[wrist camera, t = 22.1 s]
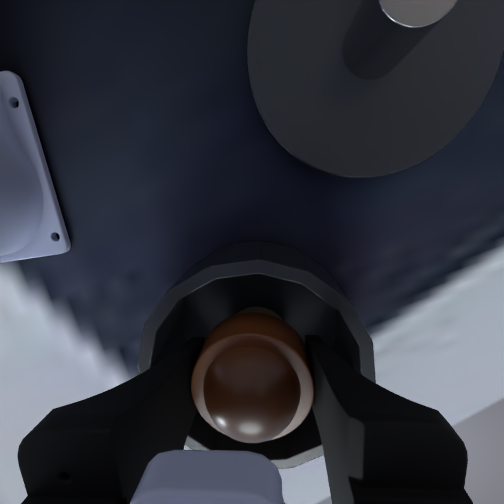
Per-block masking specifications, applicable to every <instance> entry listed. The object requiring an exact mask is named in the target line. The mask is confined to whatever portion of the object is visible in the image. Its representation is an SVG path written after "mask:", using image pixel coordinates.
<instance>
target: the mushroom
mask: <svg viewBox="0 0 504 504" xmlns="http://www.w3.org/2000/svg"><path fill="white" fill-rule="evenodd" d="M314 391H315V389H314V380H313V376H312V371H311V367H310V363H309V358H308V354H307V350H306V347H305V344H304V342H303V340H302V339H301V337H300V336H299V334H298V333H297V332H296V331H295V330H294V329H293V328H292V327H291V326H290V325H289V324H287V323H286V322H284V321H283V320H282V319H281V317H280V316H279V315H278V314H276V313H275V312H273V311H272V310H269V309H267V308H263V307H249V308H246V309H243V310H241V311H239V312H238V313H237V314H235V315H234V316H231V317H229V318H227V319H225V320H223V321H222V322H220V323H219V324H218V325H217V326H216V327H215V328H214V329H213V330H212V331H211V332H210V334H209V335H208V337H207V338H206V341H205V343H204V345H203V348H202V350H201V352H200V354H199V357H198V359H197V361H196V363H195V366H194V368H193V371H192V375H191V392H192V398H193V400H194V403H195V406H196V408H197V410H198V411H199V413H200V414H201V416H202V417H203V418H204V419H205V420H206V422H208V423H209V424H210V425H211V426H212V427H213V428H215V429H216V430H218V431H219V432H221V433H223V434H225V435H227V436H229V437H230V438H232V439H235V440H237V441H240V442H245V443H260V442H264V441H269V440H273V439H277V438H279V437H282V436H284V435H286V434H288V433H290V432H291V431H293V430H294V429H296V428H297V427H298V426H299V425H300V424H301V423H302V422H303V420H304V419H305V418H306V416H307V415H308V413H309V411H310V409H311V406H312V404H313V399H314Z"/></svg>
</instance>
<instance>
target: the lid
mask: <svg viewBox="0 0 504 504" xmlns="http://www.w3.org/2000/svg"><path fill="white" fill-rule="evenodd" d="M503 50H504V0H255V3H254V7H253V10H252V14H251V19H250V24H249V29H248V41H247V65H248V73H249V79H250V85H251V89H252V93H253V96H254V100H255V103H256V106H257V108H258V110H259V113H260V115H261V117H262V119H263V121H264V123H265V124H266V126H267V128H268V129H269V131H270V132H271V134H272V135H273V136H274V138H275V139H276V140H277V141H278V143H279V144H280V145H281V146H282V147H283V148H284V149H285V150H286V151H287V152H288V153H290V154H291V155H292V156H294V157H295V158H296V159H298V160H299V161H300V162H302V163H304V164H306V165H308V166H309V167H311V168H313V169H316V170H318V171H321V172H323V173H326V174H330V175H334V176H339V177H347V178H371V177H377V176H383V175H389V174H392V173H395V172H399V171H402V170H405V169H407V168H409V167H412V166H414V165H416V164H418V163H420V162H422V161H424V160H425V159H427V158H429V157H430V156H432V155H434V154H435V153H436V152H438V151H439V150H440V149H442V148H443V147H444V146H445V145H447V144H448V143H449V142H450V141H451V140H452V139H453V138H454V137H455V136H456V135H457V134H458V133H460V132H461V130H462V129H463V128H464V127H465V126H466V124H467V123H468V122H469V121H470V120H471V119H472V117H473V116H474V114H475V113H476V111H477V110H478V108H479V107H480V105H481V104H482V102H483V101H484V99H485V97H486V95H487V93H488V91H489V89H490V87H491V86H492V83H493V81H494V78H495V76H496V73H497V70H498V68H499V65H500V61H501V57H502V53H503Z"/></svg>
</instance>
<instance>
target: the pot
mask: <svg viewBox="0 0 504 504" xmlns="http://www.w3.org/2000/svg"><path fill="white" fill-rule="evenodd" d="M249 307H263V308H267V309H269V310H272V311H273V312H275V313H276V314H278V315H279V316H280V317H281V319H282V320H283V321H284V322H286V323H287V324H289V325H290V326H291V327H292V328H293V329H294V330H295V331H296V332H297V333H298V334H299V336H300V337H301V339H302V340H303V342H304V344H305V335H318V336H319V337H320V338H321V339H322V340H323V341H324V342H325V343H326V344H327V345H328V346H329V347H330V348H331V349H332V350H333V351H334V352H335V353H336V354H337V355H338V356H339V357H340V358H341V359H342V360H343V361H345V362H346V363H347V364H348V365H349V366H351V367H352V368H353V369H355V370H356V371H357V372H359V373H360V374H362V375H363V376H365V377H366V378H368V379H369V380H371V381H372V382H374V383H376V380H375V366H374V352H373V342H372V339H371V337H370V335H369V334H368V332H367V330H366V328H365V327H364V325H363V323H362V321H361V320H360V318H359V316H358V314H357V313H356V311H355V309H354V307H353V306H352V304H351V302H350V301H349V300H348V298H347V297H346V295H345V294H344V293H343V291H342V290H341V288H340V287H339V286H338V284H337V283H336V282H335V280H334V279H333V277H332V276H331V275H330V273H329V272H328V271H327V270H326V269H324V268H323V267H321V266H320V265H319V264H318V263H317V262H316V261H314V260H313V259H312V258H310V257H309V256H307V255H306V254H304V253H303V252H301V251H300V250H297V249H294V248H292V247H289V246H286V245H283V244H279V243H273V242H266V241H250V242H242V243H237V244H233V245H228V246H225V247H223V248H221V249H220V250H218V251H216V252H214V253H212V254H210V255H209V256H208V257H206V258H205V259H203V260H201V261H200V262H198V263H196V264H195V265H194V266H193V267H192V268H191V269H190V270H189V271H188V272H187V273H186V274H185V275H184V276H183V277H182V278H181V279H180V280H178V281H177V282H176V283H175V284H174V285H173V286H172V287H171V288H170V289H169V290H168V291H167V293H166V294H165V296H164V297H163V298H162V300H161V301H160V303H159V304H158V306H157V307H156V309H155V310H154V311H153V313H152V314H151V316H150V317H149V319H148V320H147V321H146V323H145V326H144V330H143V336H142V342H141V348H140V354H139V360H138V369H139V373H140V374H141V373H143V372H145V371H146V370H148V369H149V368H151V367H153V366H154V365H155V364H157V363H158V362H160V361H161V360H163V359H164V358H165V357H167V356H168V355H169V354H171V353H172V352H173V351H175V350H176V349H177V348H179V347H180V346H181V345H182V344H184V343H185V342H186V341H188V340H189V339H190V338H192V337H204V339H205V341H206V338H207V337H208V335H209V334H210V332H211V331H212V330H213V329H214V328H215V327H216V326H217V325H218V324H219V323H220V322H222V321H223V320H225V319H227V318H229V317H231V316H234V315H235V314H237V313H238V312H239V311H241V310H243V309H246V308H249ZM185 445H186V446H188V447H189V448H191V449H192V450H222V451H249V452H254V453H258V454H262V455H264V456H265V457H266V458H267V459H269V460H270V461H271V462H272V463H274V464H275V465H276V466H277V469H284V468H293V467H296V466H298V465H301V464H303V463H305V462H308V461H310V460H313V459H315V458H318V457H320V456H322V455H324V451H323V446H322V441H321V437H320V433H319V429H318V426H317V422H316V418H315V415H314V411H313V407H312V406H311V409H310V411H309V413H308V415H307V416H306V418H305V419H304V420H303V422H302V423H301V424H300V425H299V426H298V427H297V428H296V429H294V430H293V431H291V432H290V433H288V434H286V435H284V436H282V437H279V438H277V439H273V440H269V441H264V442H260V443H245V442H240V441H237V440H235V439H232V438H230V437H229V436H227V435H225V434H223V433H221V432H219V431H218V430H216V429H215V428H213V427H212V426H211V425H210V424H209V423H208V422H206V420H205V419H204V418H203V417H202V416H201V414H200V413H199V411H198V410H197V412H196V415H195V417H194V420H193V423H192V425H191V428H190V431H189V433H188V436H187V439H186V442H185Z"/></svg>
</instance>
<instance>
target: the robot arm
mask: <svg viewBox="0 0 504 504" xmlns="http://www.w3.org/2000/svg"><path fill="white" fill-rule="evenodd" d="M17 101H19V106H18V107H17V106H16V103H17ZM56 233H58V234H59V236H60V239H58V238H57V237H56ZM70 247H71V244H70V240H69V237H68V233H67V230H66V227H65V223H64V220H63V217H62V213H61V210H60V206H59V203H58V200H57V196H56V193H55V190H54V186H53V183H52V180H51V176H50V173H49V169H48V166H47V163H46V159H45V156H44V153H43V149H42V146H41V143H40V139H39V136H38V132H37V129H36V126H35V122H34V119H33V116H32V112H31V109H30V106H29V102H28V99H27V95H26V92H25V89H24V85H23V82H22V80H21V78H20V77H19V76H18V75H16V74H14V73H12V72H10V71H2V72H0V263H2V262H9V261H16V260H23V259H29V258H36V257H43V256H50V255H56V254H62V253H65V252H68V251H69V250H70ZM204 343H205V339H204V337H192V338H190V339H189V340H188V341H186V342H185V343H184V344H182V345H181V346H180V347H179V348H177V349H176V350H175V351H173V352H172V353H171V354H169V355H168V356H167V357H165V358H164V359H163V360H161V361H160V362H158V363H157V364H155V365H154V366H153V367H151V368H149V369H148V370H146V371H145V372H143V373H141V374H140V375H138V376H136V377H134V378H133V379H131V380H129V381H127V382H125V383H123V384H120V385H118V386H116V387H114V388H112V389H110V390H108V391H105V392H103V393H100V394H98V395H95V396H93V397H90V398H87V399H84V400H81V401H78V402H75V403H72V404H69V405H65V406H62V407H59V408H55V409H53V410H52V411H51V412H50V413H49V414H48V415H47V416H46V417H45V418H44V419H43V420H42V421H41V422H40V423H39V424H38V425H37V426H36V427H35V428H34V429H33V430H32V431H31V432H30V433H29V434H28V435H27V436H26V437H25V438H24V439H23V440H22V442H21V444H20V445H19V450H18V462H19V467H20V471H21V474H22V477H23V481H24V484H25V488H26V491H27V494H28V496H27V497H26V498H25V500H24V501H23V502H22V503H21V504H285V503H284V500H283V496H282V479H281V476H280V474H279V471H278V469H277V466H276V465H275V464H274V463H272V462H271V461H270V460H269V459H267V458H266V457H265V456H264V455H262V454H258V453H254V452H249V451H222V450H183V449H184V445H185V442H186V439H187V436H188V433H189V431H190V428H191V425H192V423H193V420H194V417H195V415H196V412H197V408H196V406H195V403H194V400H193V398H192V392H191V375H192V371H193V368H194V366H195V363H196V361H197V359H198V357H199V354H200V352H201V350H202V348H203V345H204ZM305 347H306V350H307V354H308V358H309V363H310V367H311V371H312V376H313V380H314V389H315V391H314V399H313V404H312V407H313V411H314V415H315V418H316V422H317V426H318V429H319V433H320V437H321V441H322V446H323V451H324V457H325V463H326V469H327V474H328V481H329V487H330V493H331V499H332V504H473V502H472V500H471V499H470V497H469V496H468V494H467V493H466V491H465V489H464V485H465V477H466V470H467V461H468V459H467V450H466V447H465V445H464V442H463V441H462V440H461V438H460V437H459V436H458V435H457V433H456V432H455V430H454V429H453V428H452V426H451V425H450V424H449V423H448V422H447V420H446V419H445V418H444V417H443V416H442V415H441V414H440V412H439V411H438V410H435V409H432V408H429V407H426V406H424V405H421V404H418V403H415V402H413V401H410V400H408V399H406V398H403V397H401V396H399V395H397V394H395V393H393V392H391V391H389V390H387V389H385V388H383V387H381V386H379V385H378V384H376V383H374V382H372V381H371V380H369V379H368V378H366V377H365V376H363V375H362V374H360V373H359V372H357V371H356V370H355V369H353V368H352V367H351V366H349V365H348V364H347V363H346V362H345V361H343V360H342V359H341V358H340V357H339V356H338V355H337V354H336V353H335V352H334V351H333V350H332V349H331V348H330V347H329V346H328V345H327V344H326V343H325V342H324V341H323V340H322V339H321V338H320V337H319V336H318V335H305Z"/></svg>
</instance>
